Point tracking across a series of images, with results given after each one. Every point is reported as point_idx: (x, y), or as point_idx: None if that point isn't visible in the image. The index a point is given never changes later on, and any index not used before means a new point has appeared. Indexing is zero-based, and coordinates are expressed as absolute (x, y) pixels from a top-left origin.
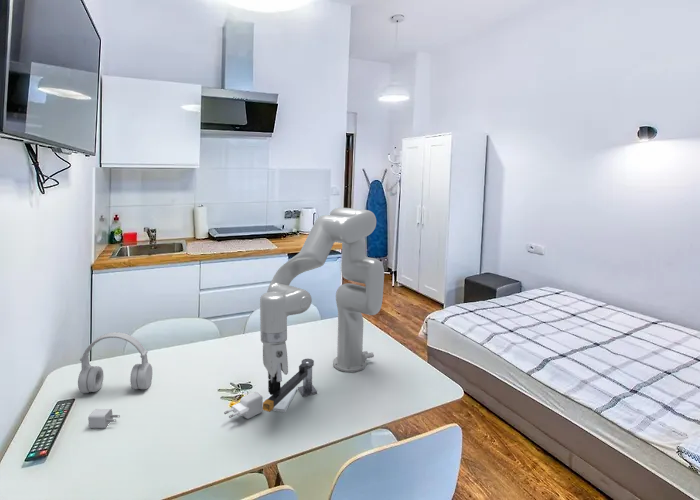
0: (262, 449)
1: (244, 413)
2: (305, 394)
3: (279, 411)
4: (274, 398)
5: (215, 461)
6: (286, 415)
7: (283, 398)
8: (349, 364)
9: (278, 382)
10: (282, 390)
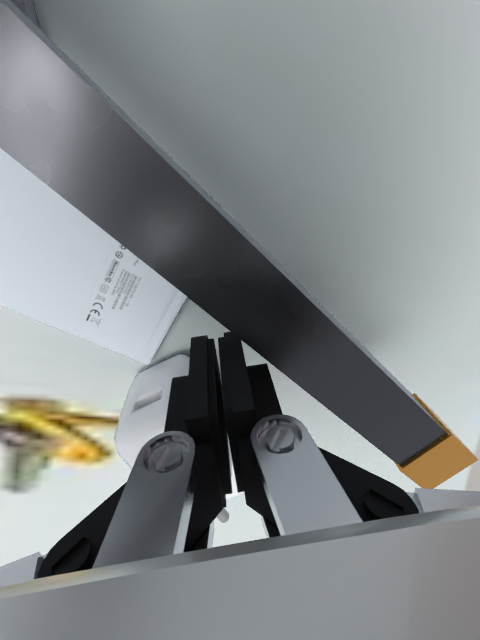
0: (434, 371)
1: None
2: (29, 14)
3: None
4: (419, 424)
5: (402, 486)
6: (251, 236)
7: (85, 226)
8: None
9: (285, 425)
10: (332, 352)
